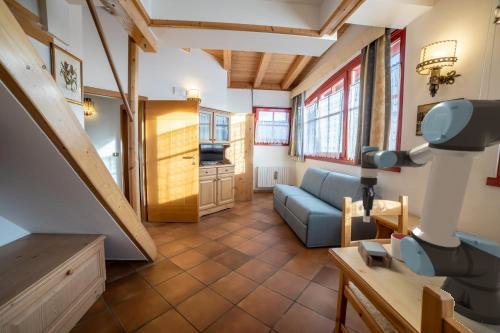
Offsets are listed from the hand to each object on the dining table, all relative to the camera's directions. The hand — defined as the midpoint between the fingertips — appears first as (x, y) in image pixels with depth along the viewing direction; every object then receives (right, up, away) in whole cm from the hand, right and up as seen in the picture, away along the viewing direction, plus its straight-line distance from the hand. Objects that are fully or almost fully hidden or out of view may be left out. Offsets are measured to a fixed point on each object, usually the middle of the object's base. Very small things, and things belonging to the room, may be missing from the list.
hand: (366, 221), depth 109 cm
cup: (+12, -15, -10) cm, 21 cm away
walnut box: (-3, -15, -11) cm, 19 cm away
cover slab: (-3, -11, -10) cm, 15 cm away
